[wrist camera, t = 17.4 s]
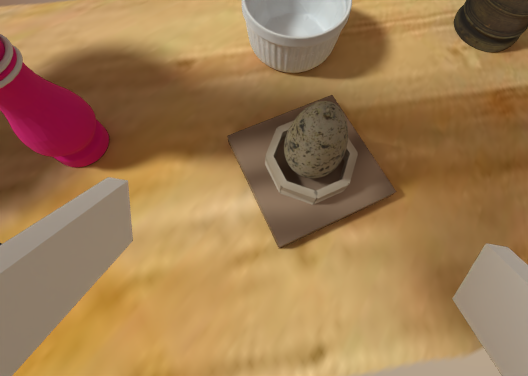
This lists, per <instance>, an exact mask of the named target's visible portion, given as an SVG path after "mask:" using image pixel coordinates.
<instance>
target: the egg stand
mask: <svg viewBox="0 0 528 376" xmlns="http://www.w3.org/2000/svg"><path fill="white" fill-rule="evenodd" d="M319 101H330V102H332V103H335V104H336V105H337V106H338V107H339V108H340V106H339V105H338V103H337V102H336V100H335V99H334V97H333V95H331V96H328V97H326V98H323V99H320V100H318V101H315V102H313V103H316V102H319ZM313 103H310V104H308V105H305V106H303V107H300V108H297V109H295V110H292V111H290V112H287V113H285V114H282V115H279V116H277V117H274V118H272V119H269V120H267V121H264V122H261V123H259V124H256V125H254V126H251V127H249V128H246V129H244V130H241V131H238V132H236V133H233V134H231V135H228V136H227V137H228V141H229V144H230V146H231V148H232V150H233V152H234V155H235V157H236V159H237V161H238V163H239V165H240V167H241V169H242V171H243V174H244V176H245V178H246V180H247V182H248V184H249V186H250V188H251V190H252V193H253V195H254V197H255V199H256V201H257V203H258V205H259V207H260V209H261V212H262V214H263V216H264V218H265V220H266V222H267V224H268V226H269V228H270V231H271V233H272V235H273V237H274V239H275V241H276V243H277V245H278V247H279V248H282V247H284V246H286V245H288V244H290V243H292V242H294V241H296V240H298V239H301V238H303V237H305V236H307V235H309V234H311V233H313V232H315V231H318V230H320V229H322V228H324V227H326V226H328V225H330V224H332V223H335V222H337V221H339V220H341V219H343V218H345V217H347V216H349V215H351V214H354V213H356V212H358V211H360V210H362V209H364V208H366V207H368V206H371V205H373V204H375V203H377V202H379V201H381V200H383V199H385V198H388V197H390V196H391V195H393V194H394V193H395V192H396V191H395V189H394V188H393V186H392V185H391V183H390V182H389V180H388V179H387V177H386V176H385V174H384V173H383V171H382V170H381V168H380V166H379V165H378V163H377V162H376V160H375V159H374V157H373V156H372V154H371V153H370V151H369V150H368V148H367V147H366V145H365V144H364V142H363V141H362V139H361V138H360V136H359V135H358V133H357V132H356V130H355V129H354V127H353V126H352V124H351V123H350V121H349V120H348V118H347V117H346V115H345V114H344V116H345V118H346V121H347V126H348V143H347V148H346V152H345V154H344V157H343V159H342V161H341V162H340V164H339V165H338V166H337V167H336V169H335V170H333V171H332V172H331V173H329V174H328V175H326V176H323V177H320V178H306V177H303V176H300V175H298V174H297V173H296V172H294V171H293V170H292V169H291V167H290V166H289V164H288V163H287V161H286V158H285V153H284V143H285V138H286V135H287V132H288V130H289V128H290V126H291V124H292V123H293V121H294V120H295V119H296V117H297V116H298V115H299V114H300V113H301V112H302V111H303V110H304V109H305V108H307V107H308V106H310V105H311V104H313ZM340 109H341V108H340ZM341 110H342V109H341ZM342 112H343V111H342ZM343 113H344V112H343Z"/></svg>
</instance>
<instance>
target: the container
mask: <svg viewBox="0 0 528 376" xmlns="http://www.w3.org/2000/svg"><path fill="white" fill-rule="evenodd" d="M454 27H455V30H456V32H457V34H458V35H459V36H460V37H461V38H462V39H463V40H464V41H465V42H466V43H468V44H469V45H471V46H473V47H475V48H477V49H480V50H483V51H488V52H497V51H501V50H504V49H506V48H508V47H510V46H511V45H513V44H514V43H515V42H516V41H517V40H518V38H519V36H520V35H521V34H522V33H523V32H524V31H525V30H526V29H527V27H528V0H466V2H465V4H464V5H463V6H462V7H461V8H460V9H459V10H458V12H457V14H456V16H455V19H454Z"/></svg>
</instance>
